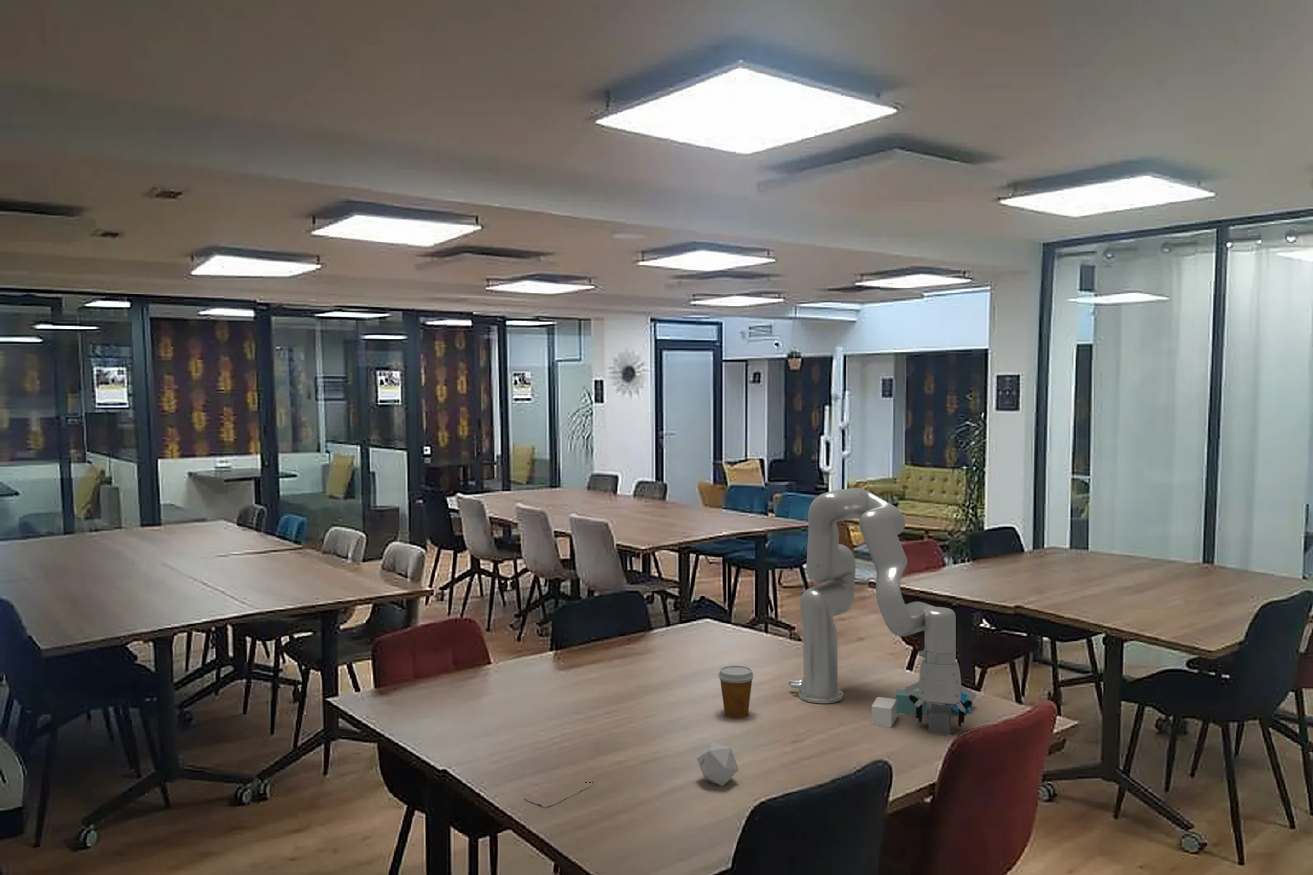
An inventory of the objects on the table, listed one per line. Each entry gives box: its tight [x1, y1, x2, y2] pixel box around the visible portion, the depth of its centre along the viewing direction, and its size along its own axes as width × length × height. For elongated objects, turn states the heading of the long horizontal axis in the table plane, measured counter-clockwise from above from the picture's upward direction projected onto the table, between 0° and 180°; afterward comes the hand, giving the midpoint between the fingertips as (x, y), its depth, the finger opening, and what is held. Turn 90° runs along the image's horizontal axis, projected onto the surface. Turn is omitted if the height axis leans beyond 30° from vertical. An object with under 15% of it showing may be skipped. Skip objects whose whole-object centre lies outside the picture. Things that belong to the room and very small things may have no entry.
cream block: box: [871, 696, 898, 728], centre depth 236 cm, size 8×5×5 cm, turn 155°
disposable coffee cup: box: [717, 665, 755, 719], centre depth 242 cm, size 10×10×12 cm
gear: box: [943, 692, 974, 716], centre depth 245 cm, size 11×6×10 cm
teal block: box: [895, 688, 928, 716], centre depth 243 cm, size 8×5×5 cm, turn 75°
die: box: [696, 742, 740, 787], centre depth 201 cm, size 8×9×10 cm
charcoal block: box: [928, 703, 952, 736], centre depth 230 cm, size 8×5×5 cm, turn 159°
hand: (940, 723), depth 230 cm, fingers open, 9 cm apart
